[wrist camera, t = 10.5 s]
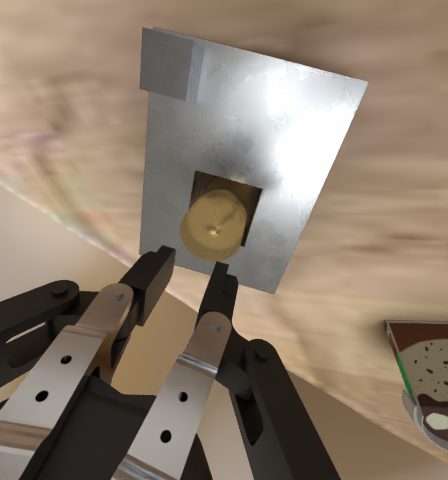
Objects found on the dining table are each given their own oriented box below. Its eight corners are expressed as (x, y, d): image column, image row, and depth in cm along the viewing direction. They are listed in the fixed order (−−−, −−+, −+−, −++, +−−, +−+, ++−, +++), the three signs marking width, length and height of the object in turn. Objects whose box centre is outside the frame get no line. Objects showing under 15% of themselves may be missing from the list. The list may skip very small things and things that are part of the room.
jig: (172, 39, 19) (134, 13, 14) (352, 86, 18) (384, 77, 13) (153, 238, 28) (126, 268, 22) (273, 273, 27) (274, 312, 22)
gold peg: (211, 169, 23) (184, 196, 16) (256, 182, 23) (249, 215, 16) (202, 211, 25) (176, 251, 18) (244, 223, 25) (233, 268, 18)
